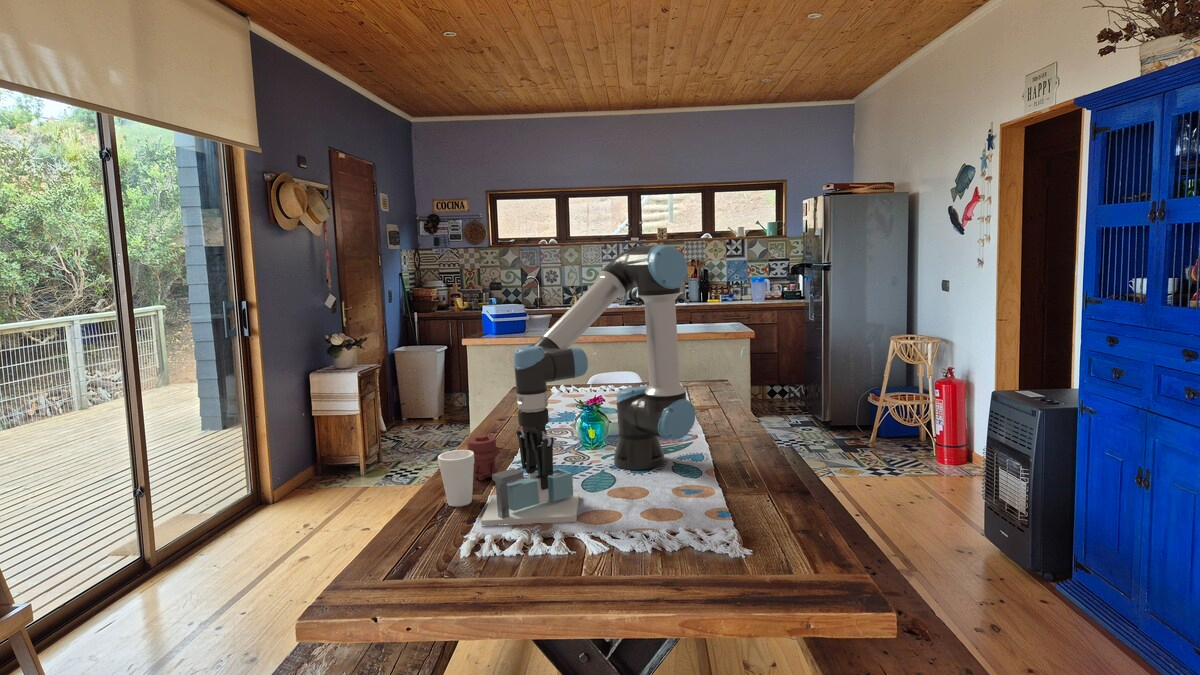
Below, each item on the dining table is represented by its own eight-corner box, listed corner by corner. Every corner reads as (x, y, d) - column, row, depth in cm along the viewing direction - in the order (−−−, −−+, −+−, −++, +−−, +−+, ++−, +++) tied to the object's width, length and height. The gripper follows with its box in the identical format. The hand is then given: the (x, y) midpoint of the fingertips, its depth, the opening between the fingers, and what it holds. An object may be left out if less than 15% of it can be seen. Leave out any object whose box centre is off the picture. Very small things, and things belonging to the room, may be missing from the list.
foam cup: (447, 511, 187) (442, 462, 186) (437, 500, 195) (433, 454, 194) (482, 503, 192) (478, 455, 190) (471, 493, 200) (467, 447, 198)
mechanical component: (505, 471, 218) (494, 482, 208) (474, 471, 220) (461, 482, 210) (502, 431, 216) (491, 440, 206) (471, 431, 218) (458, 440, 208)
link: (559, 490, 191) (558, 468, 190) (573, 495, 186) (572, 473, 186) (504, 506, 181) (502, 483, 180) (517, 512, 176) (515, 488, 175)
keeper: (517, 514, 182) (513, 468, 181) (526, 518, 179) (523, 471, 177) (495, 521, 178) (491, 474, 177) (505, 526, 175) (501, 478, 173)
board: (579, 497, 192) (577, 468, 191) (576, 521, 175) (574, 489, 174) (492, 501, 192) (490, 472, 191) (481, 526, 176) (478, 494, 175)
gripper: (502, 407, 184) (509, 495, 187) (538, 416, 172) (545, 511, 175) (527, 401, 189) (534, 488, 192) (564, 410, 177) (570, 503, 180)
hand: (539, 499), depth 184 cm, fingers closed on link, 3 cm apart
